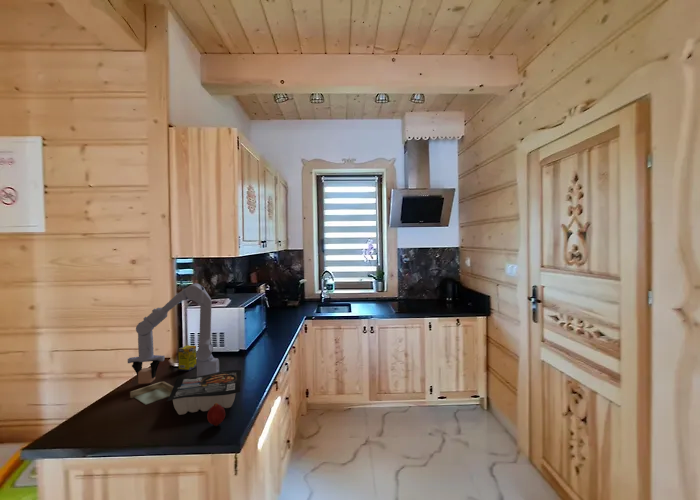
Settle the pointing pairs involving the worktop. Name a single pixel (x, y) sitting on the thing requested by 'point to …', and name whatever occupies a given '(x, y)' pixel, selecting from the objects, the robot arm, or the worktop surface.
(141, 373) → the terracotta cube
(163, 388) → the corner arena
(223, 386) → the food packaging
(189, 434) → the worktop surface
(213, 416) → the onion
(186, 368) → the supplement box
